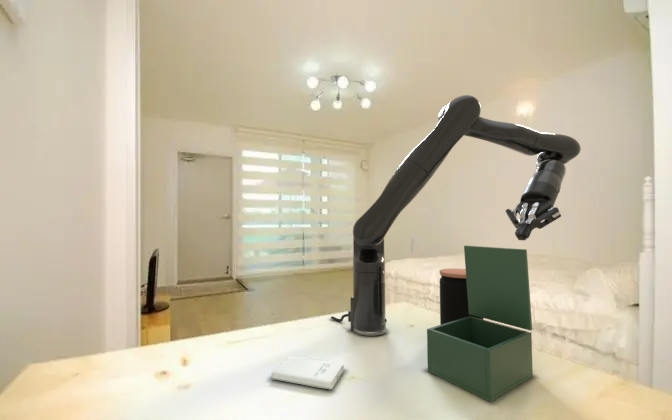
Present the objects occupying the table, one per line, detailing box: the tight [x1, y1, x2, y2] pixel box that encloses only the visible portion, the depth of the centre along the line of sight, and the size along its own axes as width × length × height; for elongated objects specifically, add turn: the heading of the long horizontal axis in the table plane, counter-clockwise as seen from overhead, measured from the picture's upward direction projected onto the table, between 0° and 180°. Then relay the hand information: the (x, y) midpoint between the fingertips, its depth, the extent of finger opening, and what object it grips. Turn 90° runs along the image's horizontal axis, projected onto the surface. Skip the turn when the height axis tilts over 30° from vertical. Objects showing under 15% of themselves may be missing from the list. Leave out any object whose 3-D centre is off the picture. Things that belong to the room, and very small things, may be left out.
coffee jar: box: [439, 268, 484, 325], centre depth 82 cm, size 11×11×18 cm
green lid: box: [463, 245, 533, 331], centre depth 68 cm, size 16×14×1 cm
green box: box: [426, 316, 534, 403], centre depth 64 cm, size 16×14×9 cm
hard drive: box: [271, 355, 345, 390], centre depth 63 cm, size 2×8×12 cm
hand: (520, 238), depth 76 cm, fingers closed
